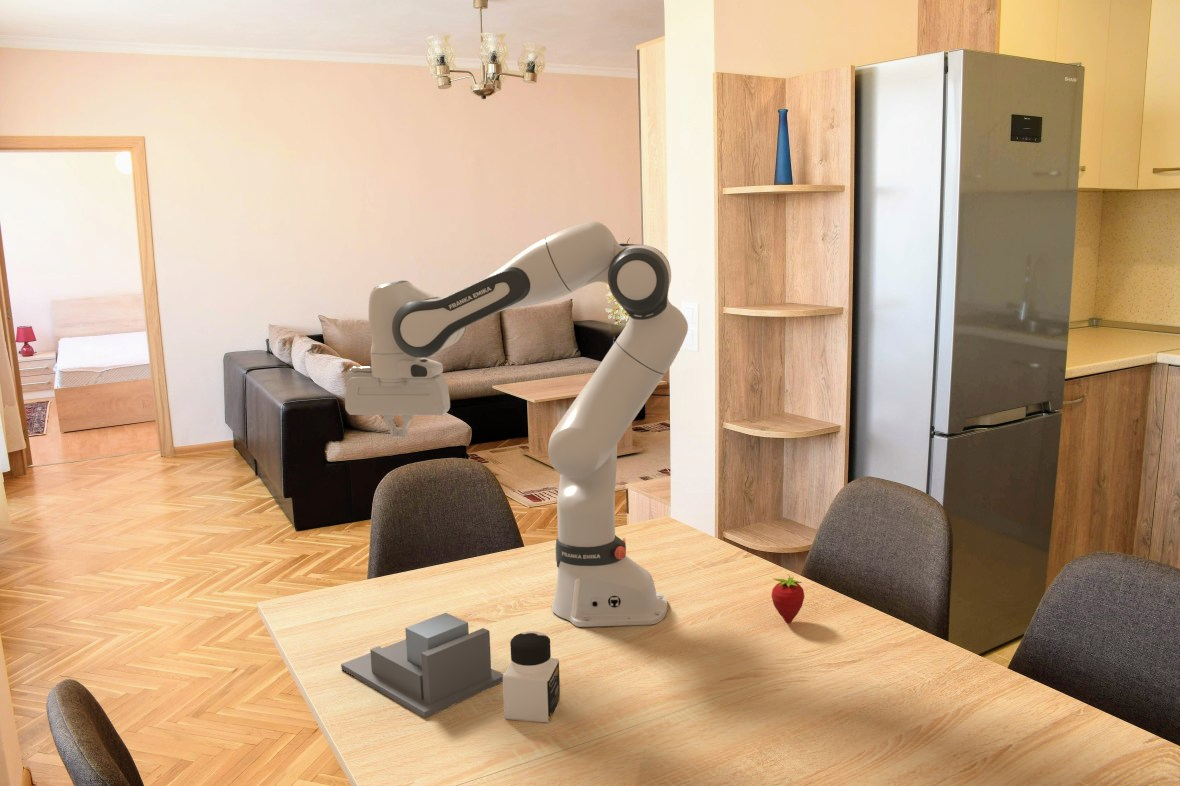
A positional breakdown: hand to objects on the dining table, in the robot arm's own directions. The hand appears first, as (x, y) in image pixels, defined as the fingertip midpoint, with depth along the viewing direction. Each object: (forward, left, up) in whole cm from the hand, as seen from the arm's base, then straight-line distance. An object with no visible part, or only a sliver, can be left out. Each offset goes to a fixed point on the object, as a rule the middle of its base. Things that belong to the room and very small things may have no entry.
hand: (399, 437), depth 178 cm
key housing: (-13, +29, -34) cm, 47 cm away
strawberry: (-74, +1, -34) cm, 82 cm away
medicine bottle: (-34, +38, -34) cm, 61 cm away
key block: (-17, +32, -33) cm, 49 cm away
